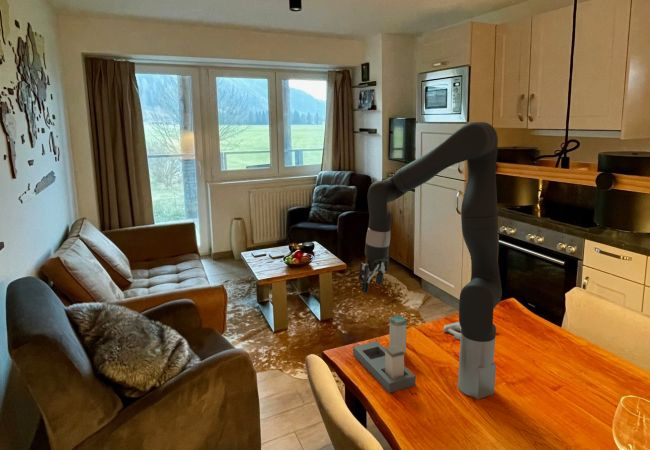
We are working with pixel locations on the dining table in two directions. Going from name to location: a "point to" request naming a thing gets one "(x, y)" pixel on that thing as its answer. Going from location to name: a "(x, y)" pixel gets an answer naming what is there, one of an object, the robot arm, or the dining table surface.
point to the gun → (452, 327)
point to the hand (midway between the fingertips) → (372, 287)
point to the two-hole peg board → (385, 365)
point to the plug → (398, 332)
